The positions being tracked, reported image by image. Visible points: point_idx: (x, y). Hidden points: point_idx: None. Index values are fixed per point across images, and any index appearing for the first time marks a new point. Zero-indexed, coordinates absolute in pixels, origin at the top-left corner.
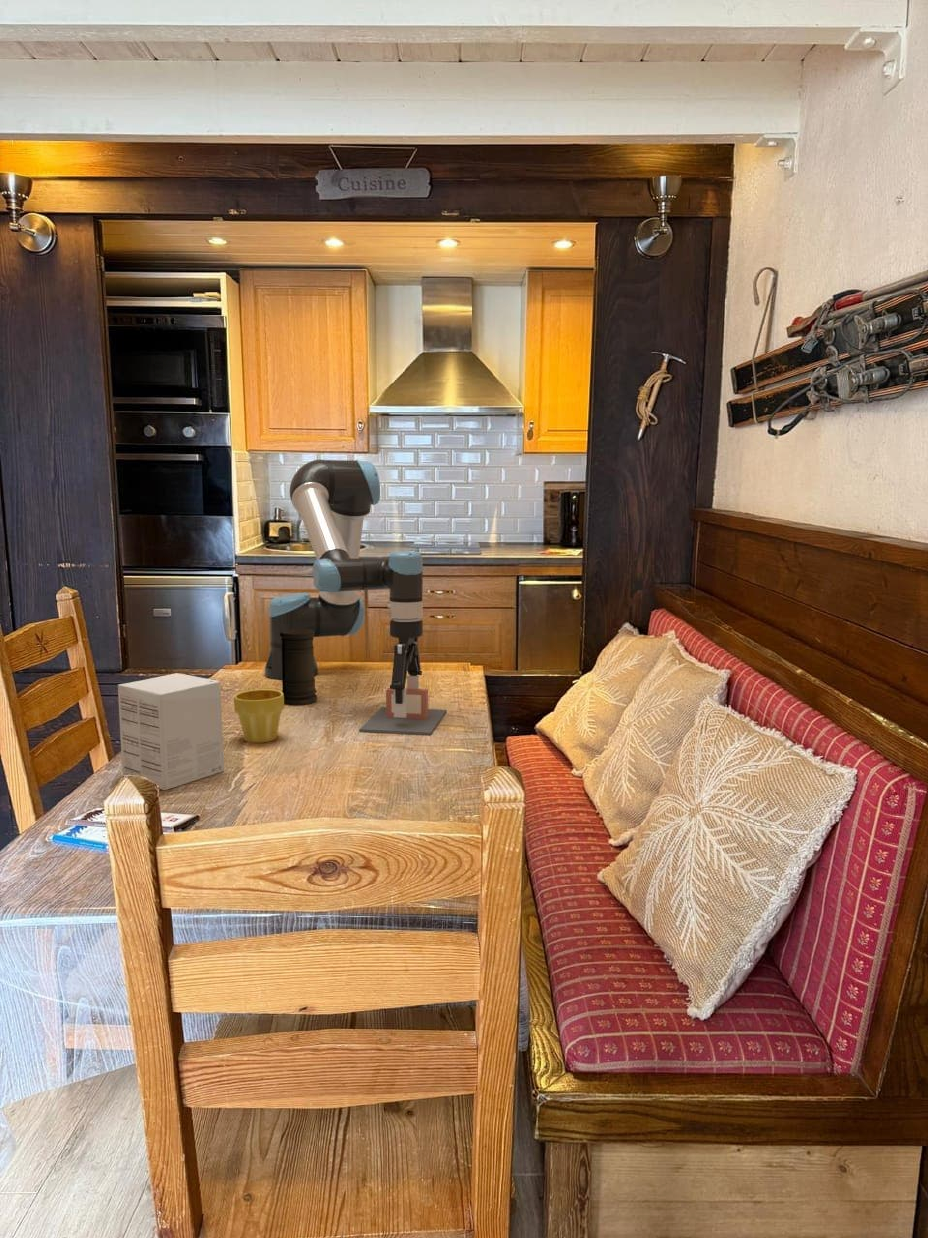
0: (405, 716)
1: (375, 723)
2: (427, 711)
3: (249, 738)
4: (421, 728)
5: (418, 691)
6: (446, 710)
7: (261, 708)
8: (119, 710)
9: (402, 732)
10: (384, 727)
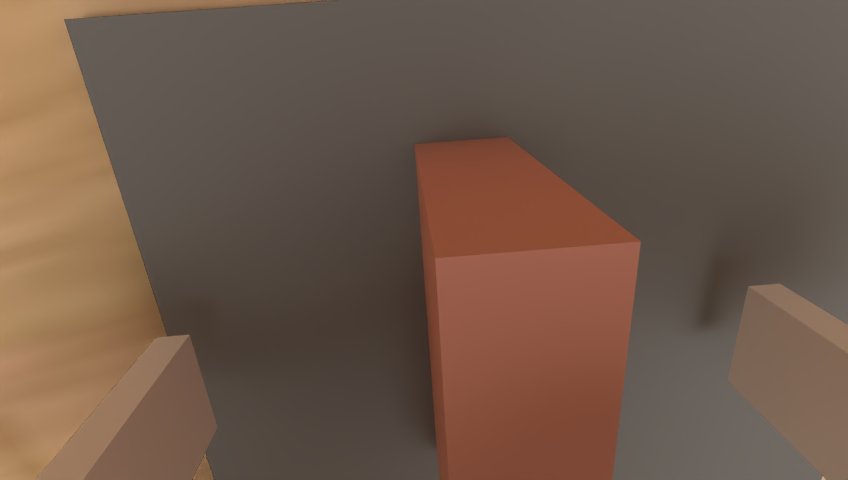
0: (789, 290)
1: (680, 452)
2: (458, 154)
3: None
4: (841, 90)
5: (619, 379)
6: (75, 19)
7: None
8: None
9: None
10: None
